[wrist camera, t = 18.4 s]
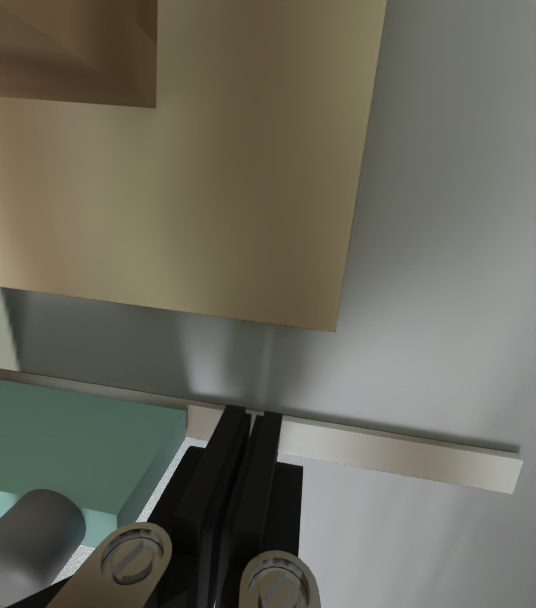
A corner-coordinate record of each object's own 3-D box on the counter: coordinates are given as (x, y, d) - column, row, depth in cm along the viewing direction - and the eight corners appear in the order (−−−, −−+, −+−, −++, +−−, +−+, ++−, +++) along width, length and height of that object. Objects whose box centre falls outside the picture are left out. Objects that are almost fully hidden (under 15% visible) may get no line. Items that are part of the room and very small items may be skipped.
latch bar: (186, 402, 11) (77, 559, 6) (184, 445, 11) (81, 626, 6) (-40, 365, 12) (-300, 474, 7) (-34, 406, 12) (-276, 538, 7)
